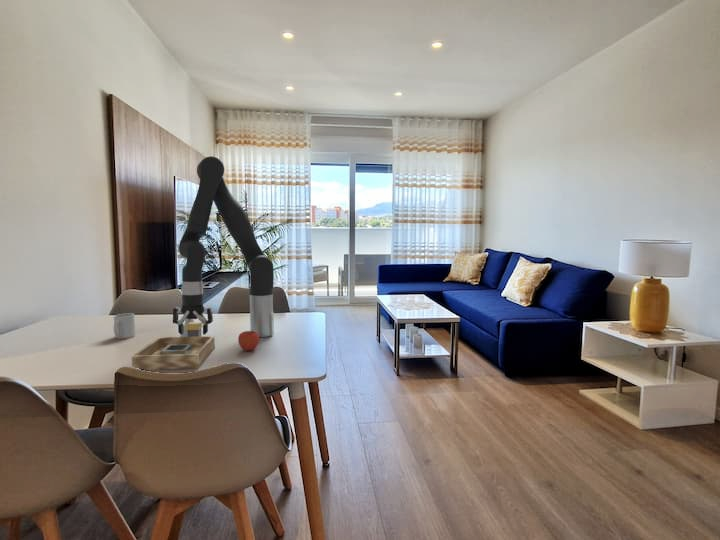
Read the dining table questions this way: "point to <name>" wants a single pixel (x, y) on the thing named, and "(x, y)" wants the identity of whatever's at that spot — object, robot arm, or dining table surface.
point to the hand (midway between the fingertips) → (193, 334)
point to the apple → (248, 340)
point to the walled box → (154, 361)
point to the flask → (185, 327)
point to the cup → (124, 325)
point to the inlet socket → (177, 349)
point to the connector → (194, 329)
